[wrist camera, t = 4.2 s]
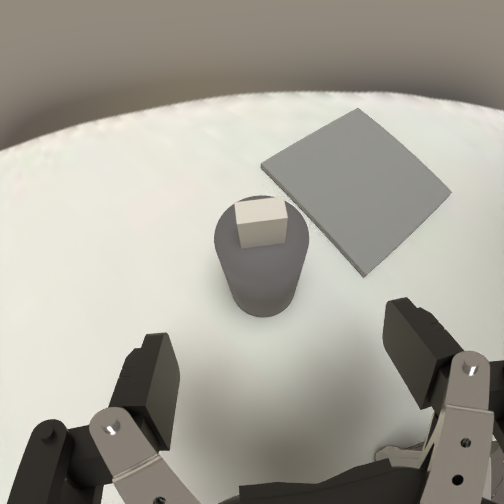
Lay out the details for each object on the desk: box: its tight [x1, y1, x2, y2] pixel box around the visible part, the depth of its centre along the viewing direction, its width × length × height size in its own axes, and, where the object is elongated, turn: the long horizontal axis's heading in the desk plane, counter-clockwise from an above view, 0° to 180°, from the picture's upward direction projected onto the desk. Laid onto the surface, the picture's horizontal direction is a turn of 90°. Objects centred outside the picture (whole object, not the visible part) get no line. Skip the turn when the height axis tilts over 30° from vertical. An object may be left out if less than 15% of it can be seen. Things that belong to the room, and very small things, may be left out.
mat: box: [261, 108, 452, 277], centre depth 25 cm, size 12×12×1 cm
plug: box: [214, 196, 309, 317], centre depth 18 cm, size 4×4×10 cm
